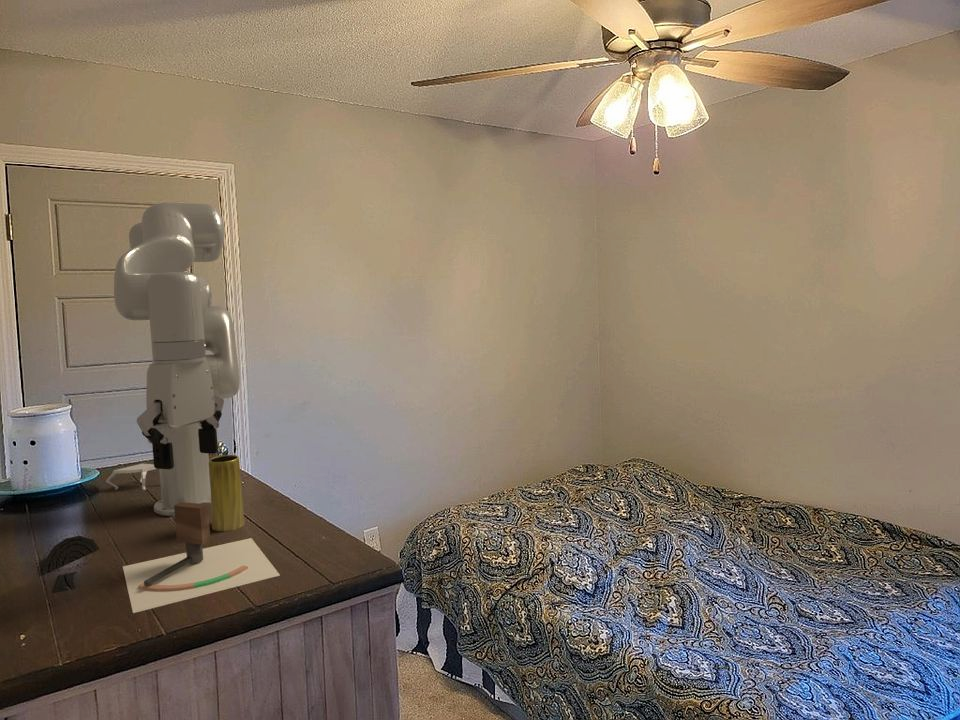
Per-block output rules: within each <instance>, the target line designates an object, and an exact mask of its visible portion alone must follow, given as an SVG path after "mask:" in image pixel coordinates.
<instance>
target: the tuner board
mask: <svg viewBox="0 0 960 720" xmlns="http://www.w3.org/2000/svg"><path fill="white" fill-rule="evenodd" d="M202 549H203V560H202V561H200V562H197V563H188V564H186V565H184V566H182V567H181V568H179V569H177V570H175V571H174V572H172V573H170V574H168V575H167V576H165V577H163V578H161V579H160V580H158V581H156V582H154V583H153V584H151V585H149V586H147V585H144V581H145V580H147V579H149V578H151V577H152V576H154V575H156V574H158V573H160V572H161V571H163V570H165V569H167V568H169V567H170V566H172V565H174V564H176V563H177V562H179V561H181V560H183V559H185V558H186V557H187V554H186V552H182V553H178V554H173V555H168V556H165V557H159V558H156V559H150V560H146V561H142V562H136V563H133V564H129V565H123V566H122V570H123V573H124V578H125V583H126V587H127V592H128V596H129V602H130V606H131V611H132V613H133V614H136V613H140V612H144V611H148V610H152V609H155V608H160V607H164V606H167V605H172V604H175V603H179V602H182V601H186V600H190V599H195V598H198V597H203V596H206V595H210V594H214V593H218V592H221V591H226V590H229V589H234V588H237V587H241V586H245V585H249V584H253V583H257V582H260V581H264V580H268V579H272V578H276V577H280V576H281V575H280V572H278V569H276V567H275V566H273V564H272V562H270V560H269V559H268V557H266V555H265V553H263V551H262V550H261V548H260V547H259V546H258V545H257V544H256V542H255V541H254V539H253V538H252V537H251V538H245V539H241V540H235V541H231V542H227V543H223V544H218V545H213V546H209V547H204V548H202Z"/></svg>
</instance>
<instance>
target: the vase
mask: <svg viewBox="0 0 960 720" xmlns="http://www.w3.org/2000/svg"><path fill="white" fill-rule="evenodd" d="M209 476H210V488H211V503H210V505H211V506H210V507H211V508H210V509H211V528H212V530H213V531H216V532H229V531H234V530H238V529H241V528H242V527H243V526H245V515H244V513H245V512H244V511H245V509H244V501H243V491H242V490H243V487H242V477H241V466H240V457H239V456H238V455H235V454H223V455H218V456H214V457H211V458H209Z"/></svg>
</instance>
